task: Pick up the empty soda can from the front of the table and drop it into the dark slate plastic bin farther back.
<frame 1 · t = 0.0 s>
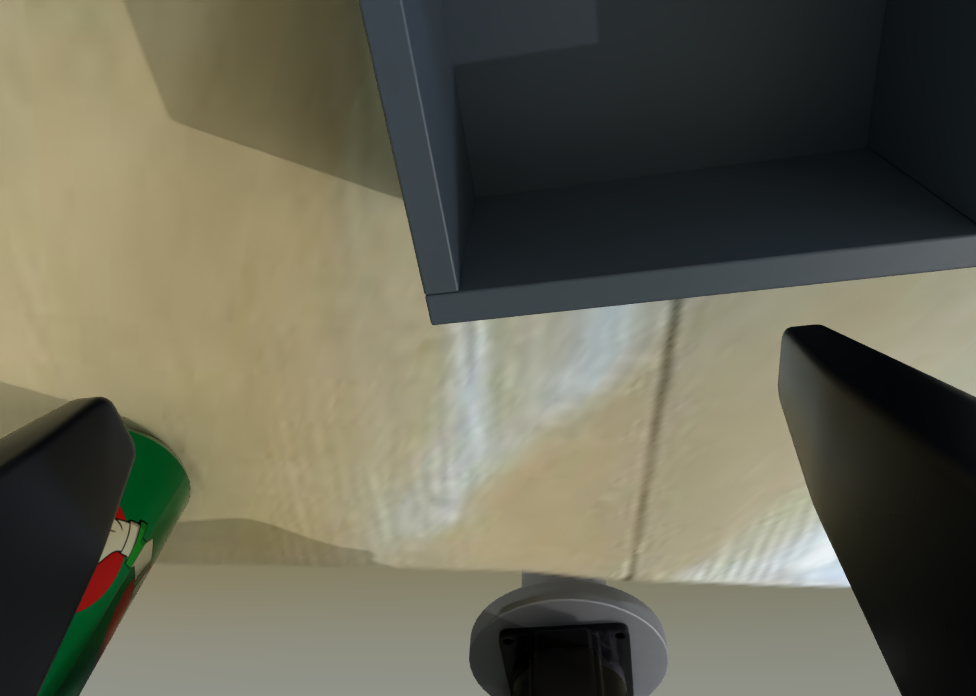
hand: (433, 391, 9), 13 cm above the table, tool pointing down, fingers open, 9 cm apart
soda can: (135, 463, 28), on the table
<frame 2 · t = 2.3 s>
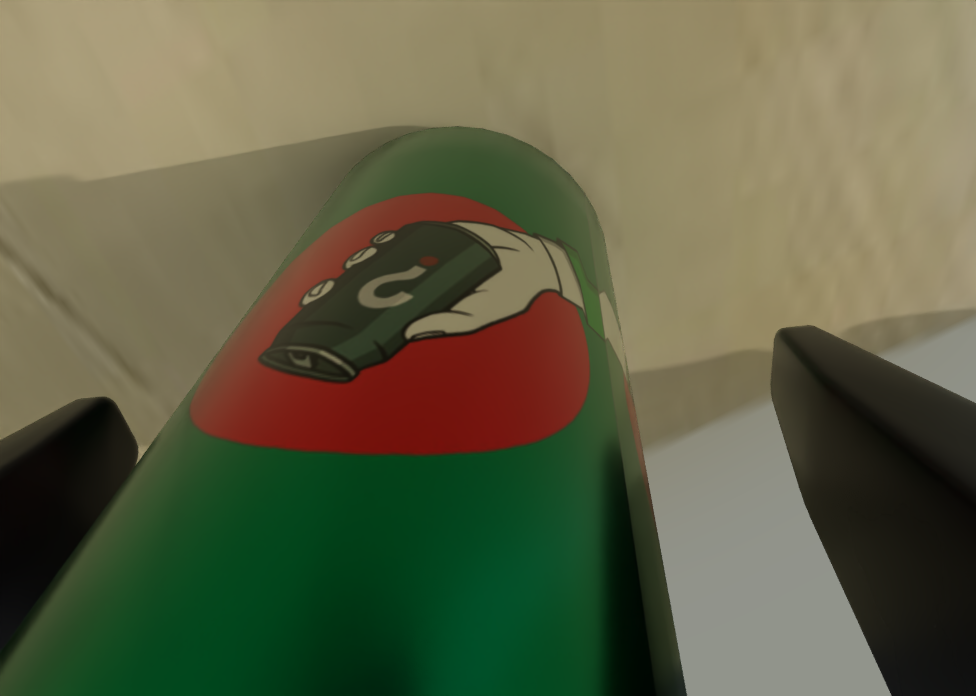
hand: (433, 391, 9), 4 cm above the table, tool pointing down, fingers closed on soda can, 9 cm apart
soda can: (466, 252, 13), on the table, touching gripper
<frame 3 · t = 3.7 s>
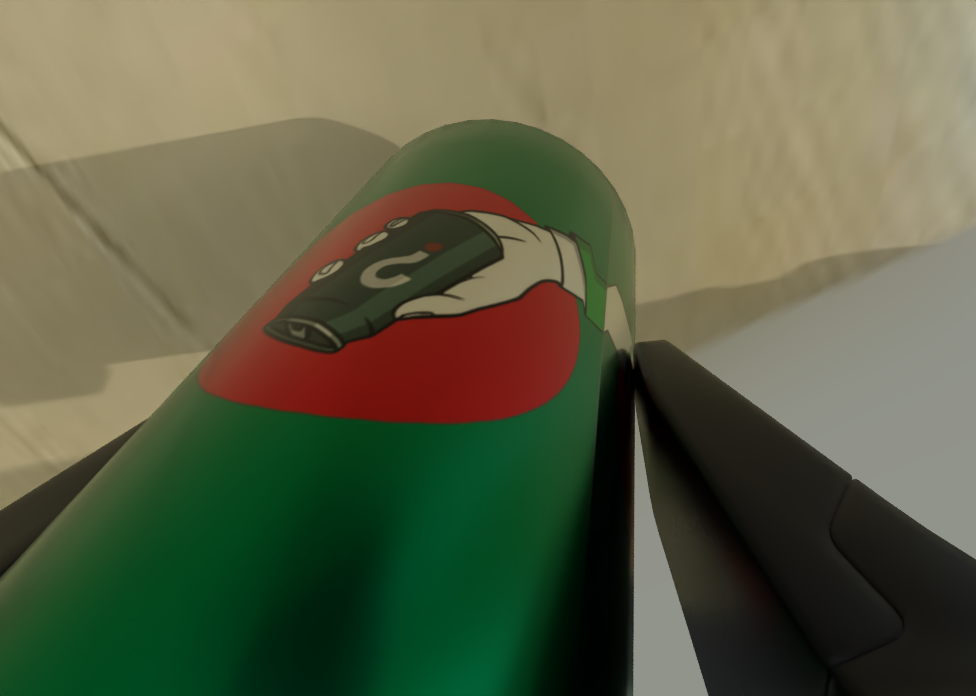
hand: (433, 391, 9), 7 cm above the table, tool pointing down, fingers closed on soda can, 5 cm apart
soda can: (500, 242, 13), point 2 cm above the table, touching gripper
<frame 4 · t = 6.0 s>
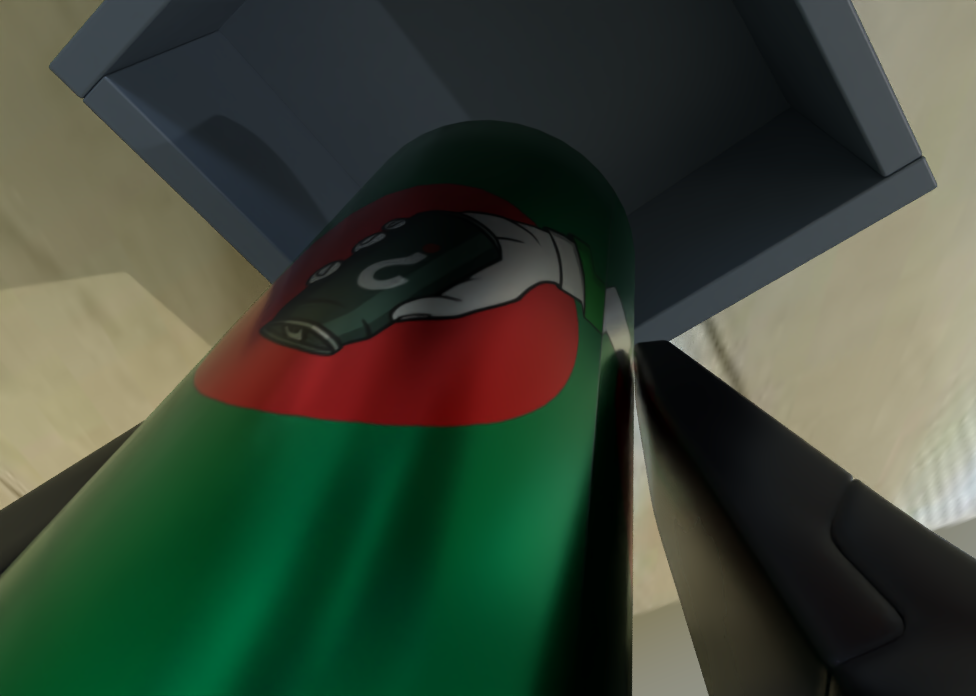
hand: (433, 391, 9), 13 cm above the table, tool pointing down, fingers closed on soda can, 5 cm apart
bin: (507, 64, 19), on the table
soda can: (499, 243, 13), point 8 cm above the table, touching gripper
when the fingers open (5 cm above the table, at t = 8.5 s): soda can stays where it is, resting on bin.
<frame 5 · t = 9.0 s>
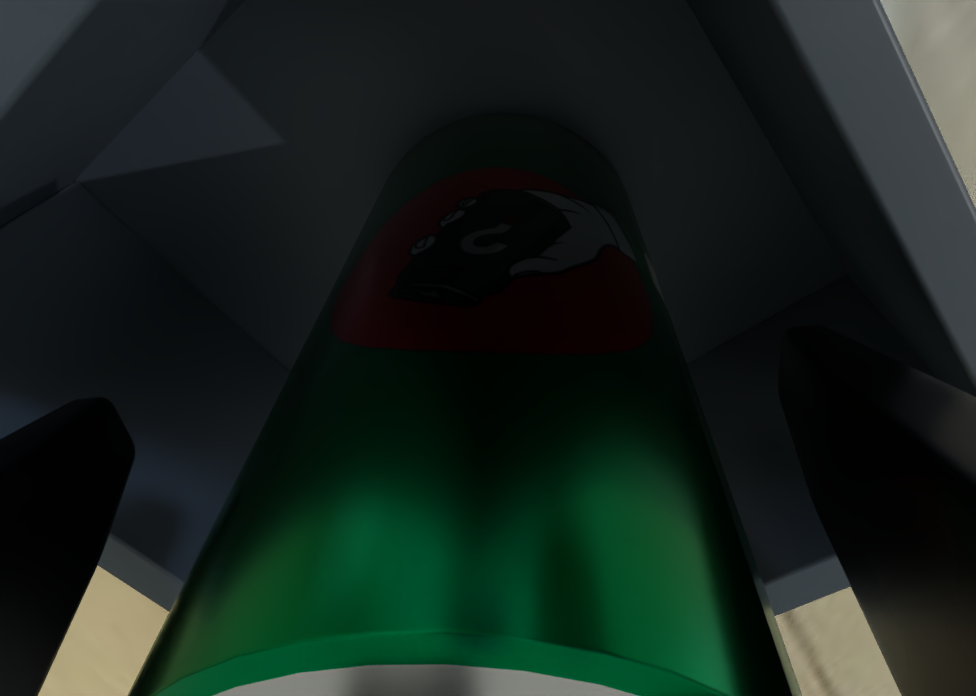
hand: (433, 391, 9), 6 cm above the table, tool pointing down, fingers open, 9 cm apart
bin: (467, 217, 14), on the table
soda can: (504, 229, 14), resting on bin
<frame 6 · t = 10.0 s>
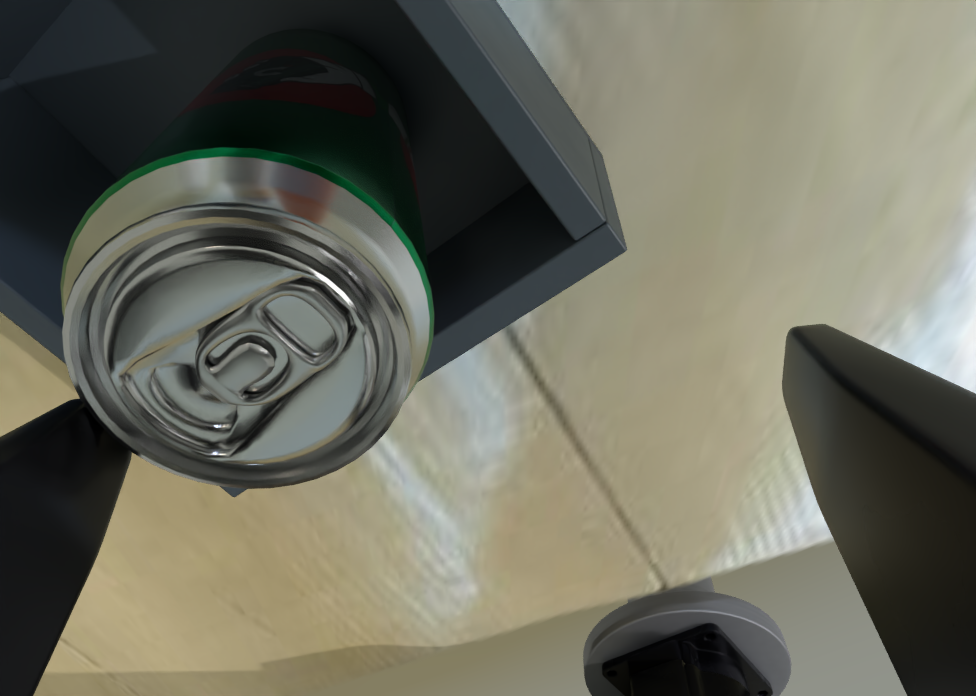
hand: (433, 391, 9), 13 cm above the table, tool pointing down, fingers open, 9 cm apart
bin: (295, 111, 20), on the table
soda can: (315, 124, 19), point 1 cm above the table, touching bin, gripper
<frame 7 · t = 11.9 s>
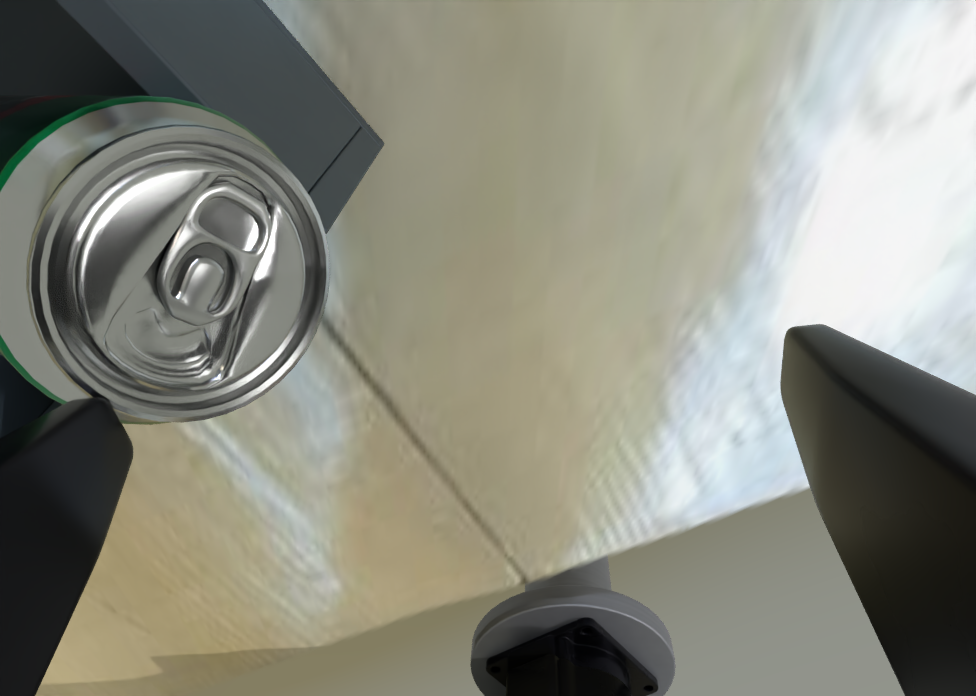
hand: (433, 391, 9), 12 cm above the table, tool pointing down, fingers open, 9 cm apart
bin: (74, 102, 20), on the table
soda can: (0, 198, 18), point 3 cm above the table, touching bin, gripper
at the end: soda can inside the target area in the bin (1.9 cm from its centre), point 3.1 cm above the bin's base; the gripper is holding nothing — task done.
